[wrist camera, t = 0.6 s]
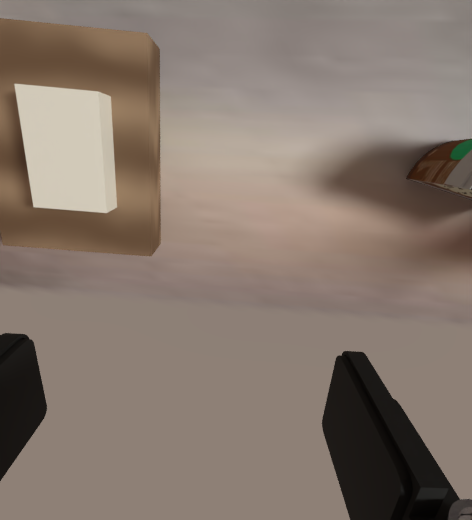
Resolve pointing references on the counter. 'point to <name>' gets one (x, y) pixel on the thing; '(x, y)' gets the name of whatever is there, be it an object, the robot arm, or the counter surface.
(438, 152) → the food container
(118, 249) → the wooden box
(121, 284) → the counter surface
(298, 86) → the counter surface
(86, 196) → the cream rectangular block
